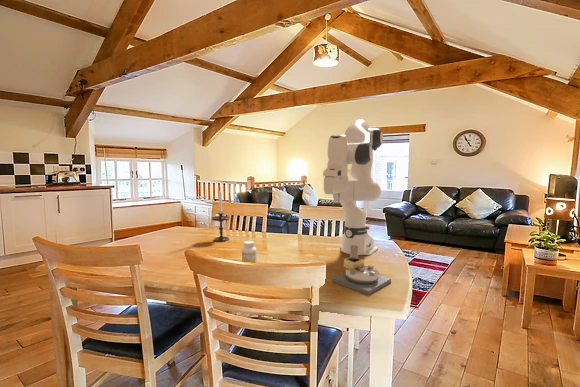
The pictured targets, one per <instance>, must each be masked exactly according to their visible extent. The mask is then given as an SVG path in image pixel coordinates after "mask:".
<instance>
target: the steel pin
mask: <svg viewBox="0 0 580 387" xmlns="http://www.w3.org/2000/svg"><path fill="white" fill-rule="evenodd" d="M349 258H350V261H353V262H356V261H357V258H359V255H358V246H355V245H352V246H350V254H349Z"/></svg>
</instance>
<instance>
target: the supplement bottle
mask: <svg viewBox="0 0 580 387" xmlns="http://www.w3.org/2000/svg"><path fill="white" fill-rule="evenodd" d="M257 254H258V253H257V247H256V246H255V241H253V240H246V241H244V242H243V247H242V248H241V263H242V262H251V263H257V264H258V258H257V257H258V256H257Z"/></svg>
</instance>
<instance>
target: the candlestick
mask: <svg viewBox="0 0 580 387" xmlns="http://www.w3.org/2000/svg"><path fill="white" fill-rule="evenodd" d="M218 188H219V191H218V211H219V212H217V214H218V216H217V215H216V216H212V217H211V221H216V222H217V221H218V222H219V227H218V230H219V236H218V237H214V238H213V241H214V242H216V243H222V242H223V243H224V242H228V241H229V239H230V238H229V237H228V236H223V234H224V231H223V230H224V227H223V221H229V220H230V218H231V217H230V216H227V215H224V214H225V213H224V212H223V194H222V193H223V192H222V190H221V186H220V185H218Z"/></svg>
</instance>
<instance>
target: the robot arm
mask: <svg viewBox="0 0 580 387" xmlns="http://www.w3.org/2000/svg"><path fill="white" fill-rule="evenodd" d="M328 138H329V139H328V142H327V143H328V144H327V159H328V160H327V167H326V168H325V169H324V170H323V171H322V176H323V177H324V178H323V192H324V194H325V195H332V198H333V203H335V204H337V203H340V205H341V206H342V208H343V213H344V226H343V234H342V238H341V245H340V246H339V248H340V251H341V252H342V253H344V254H347V255H350V246H352V245H355V246H358V256H371V255H372V254H373V253H374V252H376V251H377V250H379V247H378V246H376V245H375V241H374V239H375V238H373V237H372V236H371V235H370V234H369V233H368V231H370V228H371V227H370V225H366V223H367V222H366V221H367V219H366V216H367V214H366V211H365V210H364V209H363V208H361V207H359V206H358V205H357V203H356V202H363V203H364V202H366V203H370V202H375V201H377V200H379V199H380V196H381V194H382V190H381V186H380V185H379V183H378V182H377V181H375V180H373V178H372V175H371V174H372V167H373V151H377V149H379V148H380V147H381V146H382V144H383V141H384V134H383V131H382V130H381V128H376V127H374V128H369V123H368V122H367V121H366V120H364V119H362V118H361V119H360V118H359V119H356V120H354V121H353V122H351V123H350V124H349V125H348V127H346V130H345V132H344V134H333V135H330V136H329V137H328ZM348 165H351V167H350V174H349V175H350V176H351V178H352V179H353V180H349V176H348V172H349V170H348V167H349V166H348Z"/></svg>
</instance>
